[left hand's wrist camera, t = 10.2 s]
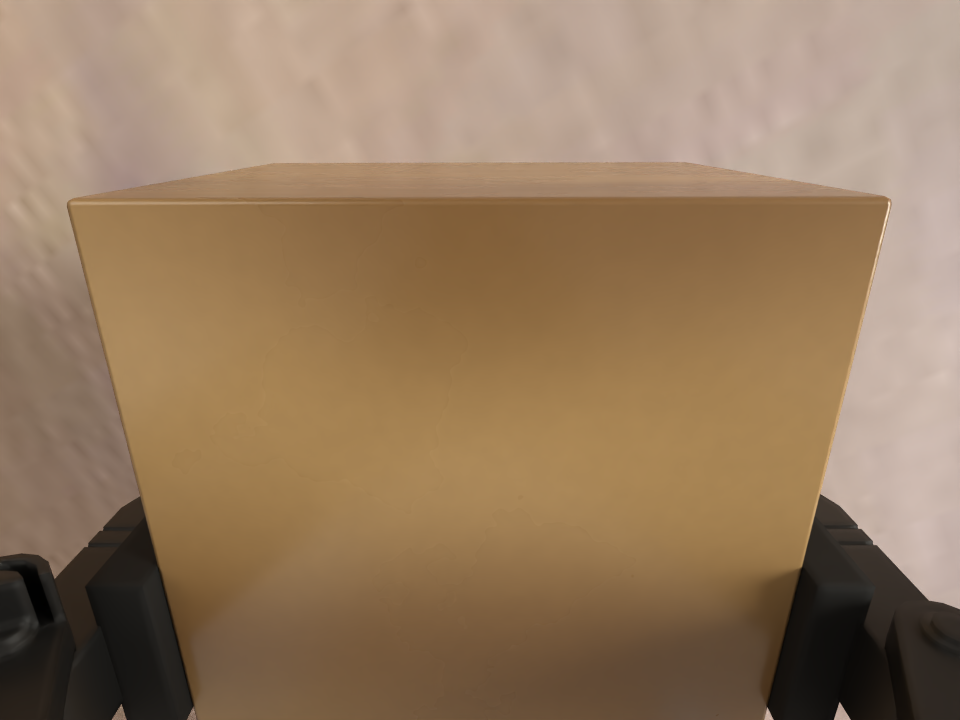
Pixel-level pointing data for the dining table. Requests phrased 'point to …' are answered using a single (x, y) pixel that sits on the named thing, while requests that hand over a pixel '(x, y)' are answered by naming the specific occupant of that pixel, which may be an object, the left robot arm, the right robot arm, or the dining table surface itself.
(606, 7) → the dining table surface
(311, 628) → the slab
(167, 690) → the left robot arm
